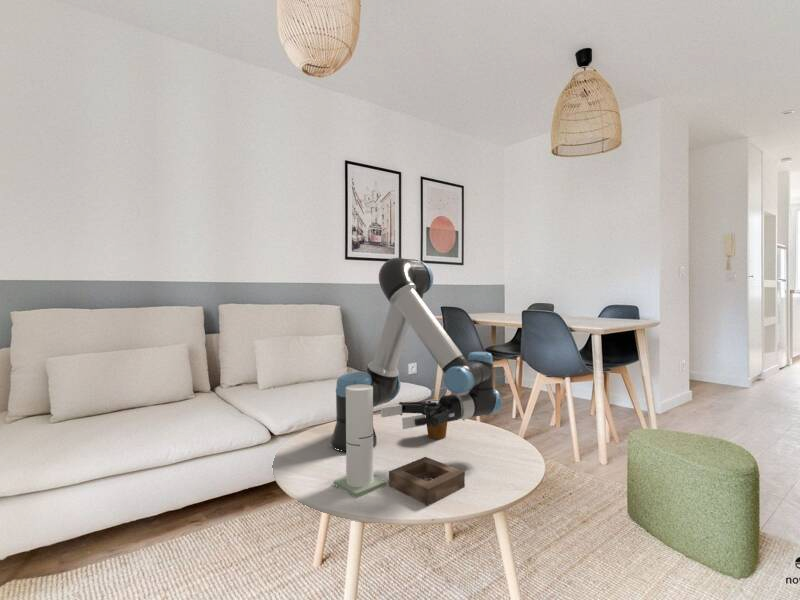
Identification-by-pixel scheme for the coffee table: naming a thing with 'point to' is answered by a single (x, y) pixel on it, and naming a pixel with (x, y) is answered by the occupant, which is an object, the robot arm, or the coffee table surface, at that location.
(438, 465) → the frame
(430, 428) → the disposable coffee cup
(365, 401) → the cylindrical container
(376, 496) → the coffee table surface
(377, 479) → the green mat
